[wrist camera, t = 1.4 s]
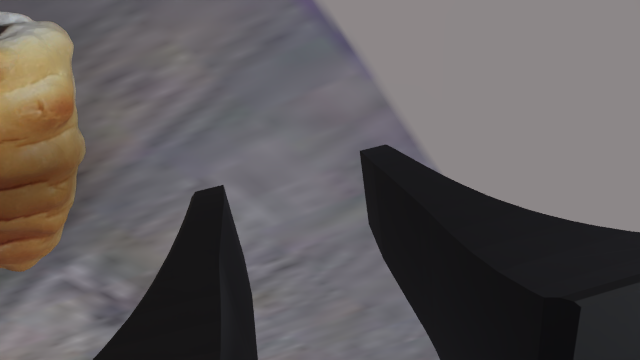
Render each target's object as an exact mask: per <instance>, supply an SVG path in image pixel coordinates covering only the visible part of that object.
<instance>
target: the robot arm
mask: <svg viewBox="0 0 640 360" xmlns="http://www.w3.org/2000/svg"><path fill="white" fill-rule="evenodd" d="M360 156H361V164H362V173H363V181H364V189H365V197H366V205H367V213H368V221H369V225H370V228H371V230H372V233H373V235H374V237H375V240H376V242H377V245H378V247H379V249H380V252H381V254H382V256H383V259H384V260H385V262H386V264H387V266H388V268H389V269H390V271H391V273H392V274H393V276H394V278H395V280H396V281H397V283H398V285H399V286H400V288H401V290H402V291H403V293H404V295H405V297H406V298H407V300H408V302H409V303H410V305H411V307H412V308H413V310H414V312H415V313H416V315H417V317H418V319H419V320H420V322H421V324H422V325H423V327H424V329H425V330H426V332H427V334H428V336H429V338H430V340H431V341H432V343H433V345H434V347H435V349H436V351H437V353H438V356H439V358H440V360H640V232H631V231H625V230H619V229H612V228H606V227H600V226H594V225H589V224H584V223H579V222H574V221H570V220H566V219H562V218H558V217H554V216H549V215H546V214H542V213H538V212H535V211H531V210H528V209H524V208H522V207H519V206H516V205H513V204H510V203H507V202H504V201H501V200H498V199H495V198H493V197H490V196H487V195H485V194H483V193H480V192H478V191H476V190H474V189H471V188H469V187H467V186H464V185H462V184H460V183H458V182H455V181H454V180H452V179H449V178H447V177H445V176H443V175H441V174H440V173H438V172H436V171H434V170H432V169H430V168H428V167H426V166H424V165H423V164H421V163H419V162H417V161H415V160H414V159H412V158H410V157H408V156H406V155H405V154H403V153H401V152H399V151H397V150H396V149H394V148H392V147H390V146H388V145H382V146H378V147H374V148H370V149H366V150H362V151H360ZM93 360H258V357H257V345H256V334H255V322H254V311H253V300H252V292H251V288H250V283H249V278H248V273H247V269H246V264H245V259H244V255H243V252H242V248H241V245H240V241H239V238H238V234H237V231H236V227H235V224H234V220H233V217H232V214H231V210H230V207H229V203H228V200H227V196H226V193H225V189H224V186H223V185H221V186H217V187H213V188H209V189H205V190H201V191H197V192H195V193H194V195H193V196H192V198H191V202H190V205H189V207H188V210H187V213H186V216H185V218H184V221H183V223H182V226H181V228H180V230H179V232H178V235H177V237H176V239H175V241H174V243H173V245H172V248H171V250H170V252H169V254H168V256H167V258H166V259H165V261H164V263H163V265H162V267H161V268H160V270H159V272H158V274H157V276H156V278H155V279H154V281H153V283H152V284H151V286H150V288H149V289H148V291H147V292H146V294H145V295H144V297H143V298H142V300H141V301H140V303H139V304H138V306H137V307H136V309H135V310H134V311H133V313H132V314H131V316H130V317H129V318H128V319H127V321H126V322H125V323H124V324H123V325H122V327H121V328H120V329H119V330H118V331H117V333H116V334H115V335H114V336H113V337H112V339H111V340H110V341H109V342H108V343H107V345H106V346H105V347H104V348H103V349H102V350H101V351H100V352H99V354H98V355H97V356H96V357H95V358H94V359H93Z"/></svg>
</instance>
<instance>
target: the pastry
mask: <svg viewBox="0 0 640 360" xmlns="http://www.w3.org/2000/svg"><path fill="white" fill-rule="evenodd" d="M73 50H74V46H73V43H72V41H71V39H70V37H69V35H68V34H67V32H66V31H65V30H64V29H62V28H61V27H60V26H59V25H57V24H55V23H53V22H50V21H36V22H35V21H33V20H31V19H30V18H29V17H27V16H25V15H22V14H17V13H10V12H0V268H5V269H8V270H11V271H18V272H21V271H25V270H27V269H30V268H31V267H32V266H34V265H35V264H36V263H37V262H38V261H39V260H40V259H41V258H42V257H44V256H46V255H47V254H48V253H50V252H51V251H52V250H53V248H54V247H55V246H56V245H57V244H58V242H59V241H60V238H61V235H62V230H63V227H64V223H65V221H66V220H67V216H68V212H69V209H70V208H71V207H72V205H73V202H74V197H75V192H76V175H77V171H78V166H79V164H80V163H81V161H82V160H83V158H84V155H85V148H86V147H85V141H84V138H83V136H82V134H81V132H80V130H79V129H78V115H77V109H76V105H75V94H76V89H75V82H74V77H73V73H72V67H71V60H72V55H73Z"/></svg>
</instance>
